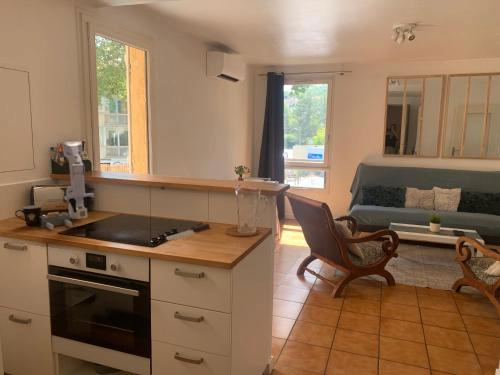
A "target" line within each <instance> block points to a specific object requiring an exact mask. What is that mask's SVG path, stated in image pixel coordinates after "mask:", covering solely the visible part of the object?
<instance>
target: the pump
mask: <svg viewBox="0 0 500 375" xmlns="http://www.w3.org/2000/svg"><path fill="white" fill-rule="evenodd" d="M74 217H75V218H76V219H77V220H80V219H86V218H88V209H87V208H85V207H84V205H83V206H78V208H76V213H74Z"/></svg>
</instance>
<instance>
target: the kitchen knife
mask: <svg viewBox="0 0 500 375" xmlns="http://www.w3.org/2000/svg"><path fill="white" fill-rule="evenodd" d="M207 229H210V223H203V224H200V225H196V226H193V227H190V228H189V229H187V230H186V231H185V230H184V231H181V232H179V233H176V234H172V235H169V236H168V235H167V236H166V237H165V239H166V240H167V241H173V240H177V239H181V238H184V237H188V236H191V235H195V234H196V232H199V231H203V230H207Z"/></svg>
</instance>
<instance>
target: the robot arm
mask: <svg viewBox="0 0 500 375" xmlns="http://www.w3.org/2000/svg"><path fill="white" fill-rule="evenodd" d="M62 151H63V155H64V156H63V157H65V158H67V160H68V164H69V174H70V175H69V176H70V185H69V186H68V187H67V188H66V194H65V195H64V201H67V203H68V214H70V219H72V220H76V219H77V218H75V217H74V213H76V208H78V206H83V207H85V208H87V210H88V209H89V204H90V202H91V200H92V198H94V197H95V194H94V192H88V193H86V186H85V173H86V168H85V164H84V163H83V160H82V157H81V156H82V153H83V142H82V141H81V140H80V141H79V140H78V141H77V140H76V141H65V140H63V142H62Z"/></svg>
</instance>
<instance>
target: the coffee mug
mask: <svg viewBox="0 0 500 375" xmlns="http://www.w3.org/2000/svg"><path fill="white" fill-rule="evenodd" d="M18 212H22V213H23V216H24V218H22V217H20V216H19V215H17V214H18ZM14 215H15V217H17V218H18V219H20V220H22V221H24V222H25V224H26V227H27V226H29V228H33V226H35V227H40V226H39V216H42V206H41V205H28V206H27V205H26V206H23V207H22V209H19V210H16V211H15V213H14Z"/></svg>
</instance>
